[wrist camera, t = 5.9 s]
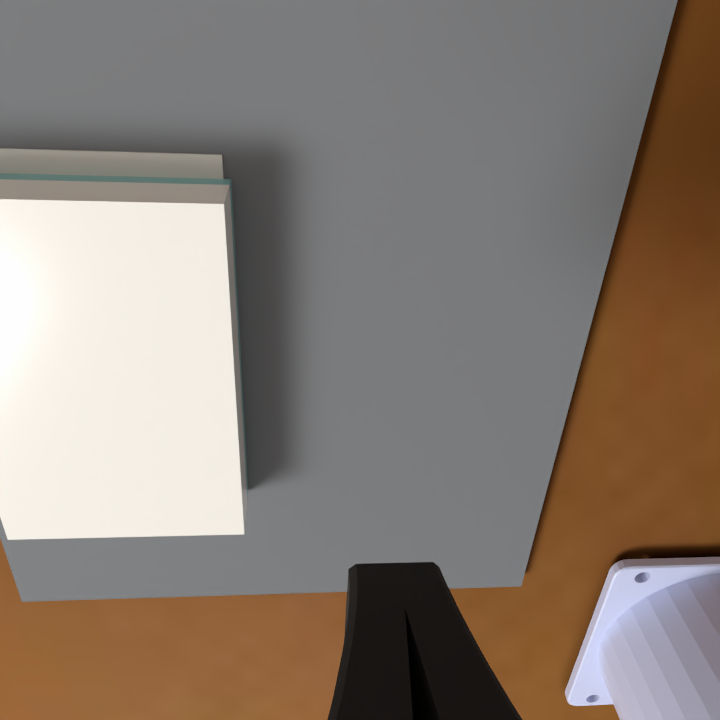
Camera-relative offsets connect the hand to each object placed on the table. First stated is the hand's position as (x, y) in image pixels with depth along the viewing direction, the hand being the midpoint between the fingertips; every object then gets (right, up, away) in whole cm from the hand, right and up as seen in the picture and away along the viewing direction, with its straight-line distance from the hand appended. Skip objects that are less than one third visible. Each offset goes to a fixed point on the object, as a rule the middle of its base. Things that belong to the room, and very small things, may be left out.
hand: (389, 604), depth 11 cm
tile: (-3, +4, +5) cm, 7 cm away
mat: (-3, +4, +6) cm, 8 cm away
